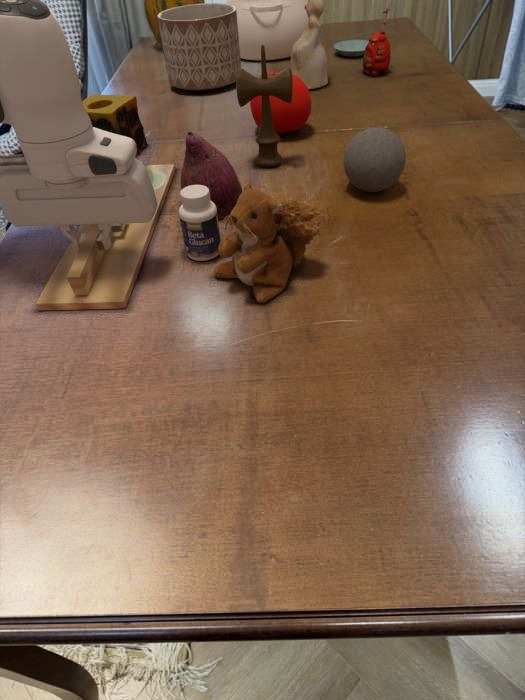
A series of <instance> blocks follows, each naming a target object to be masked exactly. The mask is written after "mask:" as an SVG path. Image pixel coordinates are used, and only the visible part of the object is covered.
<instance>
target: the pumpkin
mask: <svg viewBox="0 0 525 700" xmlns="http://www.w3.org/2000/svg"><path fill="white" fill-rule="evenodd" d="M204 3H206V2H205V0H143V8H144V14H145V18H146V21H147V24H148V26H149V29H150V31H151V33H152V35H153V37H154V39H155V40H156V42H157V43H158V44H160V45H161V46H162V47H163V45H162V39H161V33H160V28H159V22H158V14H159V13H160V12H162V11H164V10H167V9H171V8H175V7H179V6H185V5H192V4H204Z"/></svg>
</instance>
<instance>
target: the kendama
mask: <svg viewBox="0 0 525 700" xmlns="http://www.w3.org/2000/svg"><path fill="white" fill-rule="evenodd" d="M267 67H268V66H267V61H266V55H265V47H264V45H262V46H261V61H260V69H261V72H260V73H261V75H260V76H262V78H259V76H256V75H253V74H251V73H250V72H248V71H247V70H245V69H244V68H242V67H241V68H238V70H237V75H236V82H235V86H236V87H235V89H236V99H237V103H238V105H239V107H240V108H243V107H245V106H246V105H247V104H248V103H250V101H251V100H252V99H254V98H255V97H258V96H262V108H261V124H260V128H259V131H258V134H257V136H255V143H257V145H258V154H257V155H256V157H255V164H256V165H258V166H260V167H264V168H270V167H276V166H278V165H280V164H281V163H282V162H283V157H282V155H281V154H280V153H279V152H278V143H279V142H280V140H281V136H280V135H279V133H276V132H275V129H274V124H273V119H272V113H271V107H270V99H269V96H274V97H277V98H279V99H281V100H282V101H284V102H286V103H291V101H292V95H293V78H292V71H291V68H290V66H287V67H285V68H284V69H282V70H280V71H281V72H279V73H278V74H276V75H274V76H271V77H267V73H268V68H267Z"/></svg>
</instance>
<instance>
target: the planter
mask: <svg viewBox="0 0 525 700" xmlns="http://www.w3.org/2000/svg"><path fill="white" fill-rule="evenodd" d="M158 22H159V28H160V33H161V39H162V45H163V46H162V45H161V46H162V50H163V56H164V61H165V67H166V73H167V79H168V83H169V84H170V85H171V86H172V87H174V88H177V89H180V90H189V91H195V92H207V91H213V90H217V89H220V88H223V87H225V86H226V87H227V86H229V85H231V84H233V83H236V75H237V70H238V68H242V65H241V64H242V61H241V58H240V48H239V35H238V23H237V11H236V7H235V6H233V5H229V4H227V3H222V2H221V3H220V2H219V3H218V2H217V3H216V2H211V3H210V2H209V3H206V2H205V3H204V4H192V5H185V6H179V7H175V8H171V9H167V10H164V11H162V12H160V13H159V14H158Z"/></svg>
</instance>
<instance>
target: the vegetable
mask: <svg viewBox="0 0 525 700" xmlns="http://www.w3.org/2000/svg"><path fill="white" fill-rule="evenodd" d="M191 185H203V186H206V187H207V188H208V189H209V192H210V201H212V202H213V203H214V204H215V205H216V208H217V216H218V220H224V218H225V217H226V216H228V215H230V213H231V211H232V210H233V208H234V207H235V206H236V204H237V201H238V198H239V196H240V195H241V193H242V192H243V189H242V185H241V181H240V178H239V176H238V175H237V173H236V170H235V167H234V166H233V165H232V164H231V162H230V160H229V159H228V158H227V156H226V155H224V154H223V153H222V152H221V151H220V150H219V149H218V148H217V147H215V146H214V145H212V144H211V143H210V142H208V141H207V140H206V139H205V138H204V137H203V136H201V135H200V134H199V133H197V132H193V131H191V130H189V129H188V130H187V134H186V136H185V151H184V158H183V163H182V168H181V171H180V189H181V190H182V189H183V188H185V187H187V186H191ZM181 190H180V191H181Z"/></svg>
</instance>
